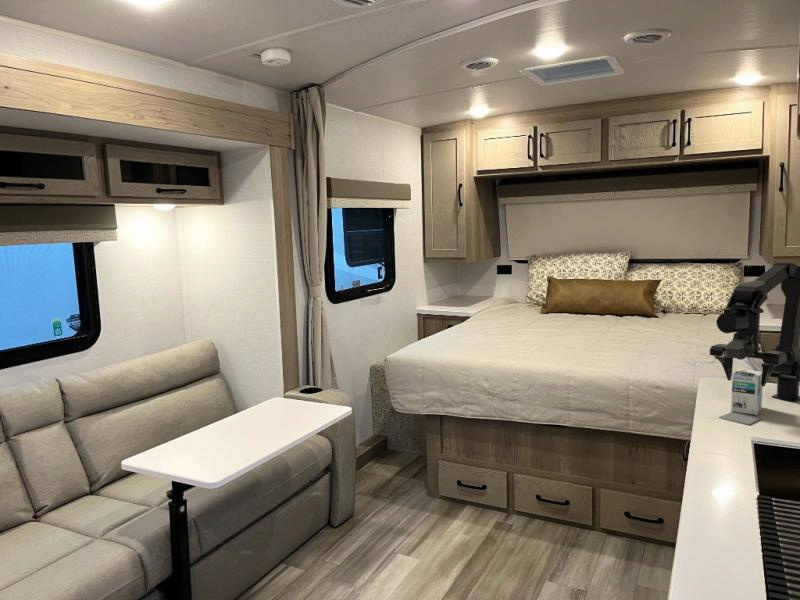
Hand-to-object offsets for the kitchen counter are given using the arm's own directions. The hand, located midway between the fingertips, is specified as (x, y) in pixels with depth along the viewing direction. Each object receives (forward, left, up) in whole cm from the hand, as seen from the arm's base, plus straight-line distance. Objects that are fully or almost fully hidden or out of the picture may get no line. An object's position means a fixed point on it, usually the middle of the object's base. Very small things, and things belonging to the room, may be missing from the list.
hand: (745, 383), depth 173 cm
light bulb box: (-1, 0, -8) cm, 8 cm away
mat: (+8, +3, -8) cm, 12 cm away
